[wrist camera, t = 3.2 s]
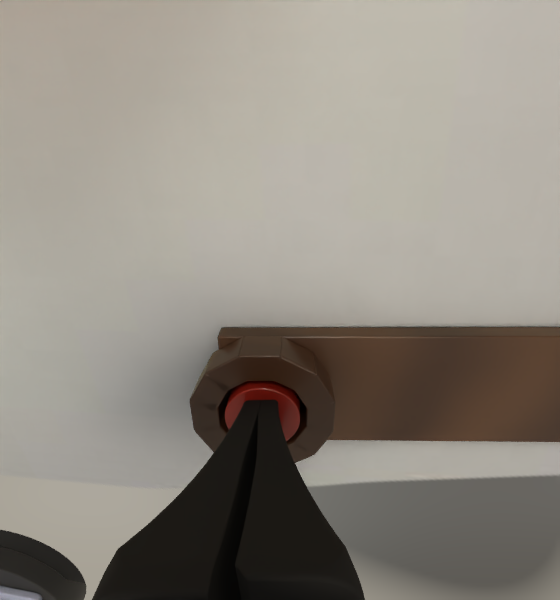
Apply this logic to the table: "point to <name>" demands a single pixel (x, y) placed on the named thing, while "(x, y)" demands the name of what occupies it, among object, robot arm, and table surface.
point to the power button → (266, 391)
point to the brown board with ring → (392, 383)
